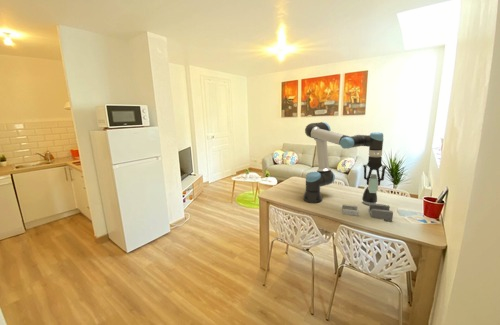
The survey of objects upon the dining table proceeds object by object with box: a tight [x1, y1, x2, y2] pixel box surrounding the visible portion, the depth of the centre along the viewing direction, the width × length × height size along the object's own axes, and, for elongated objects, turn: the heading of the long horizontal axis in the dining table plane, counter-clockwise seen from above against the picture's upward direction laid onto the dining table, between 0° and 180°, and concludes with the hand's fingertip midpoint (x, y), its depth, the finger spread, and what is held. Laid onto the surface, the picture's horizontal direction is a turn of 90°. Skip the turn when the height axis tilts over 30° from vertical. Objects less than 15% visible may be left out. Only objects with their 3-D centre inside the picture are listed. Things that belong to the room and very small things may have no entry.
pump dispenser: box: [361, 186, 378, 206], centre depth 161 cm, size 10×10×15 cm
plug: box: [369, 173, 378, 194], centre depth 140 cm, size 4×5×12 cm
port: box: [368, 203, 394, 223], centre depth 144 cm, size 12×12×7 cm
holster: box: [341, 204, 360, 217], centre depth 150 cm, size 10×10×4 cm
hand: (372, 189), depth 141 cm, fingers closed on plug, 4 cm apart
